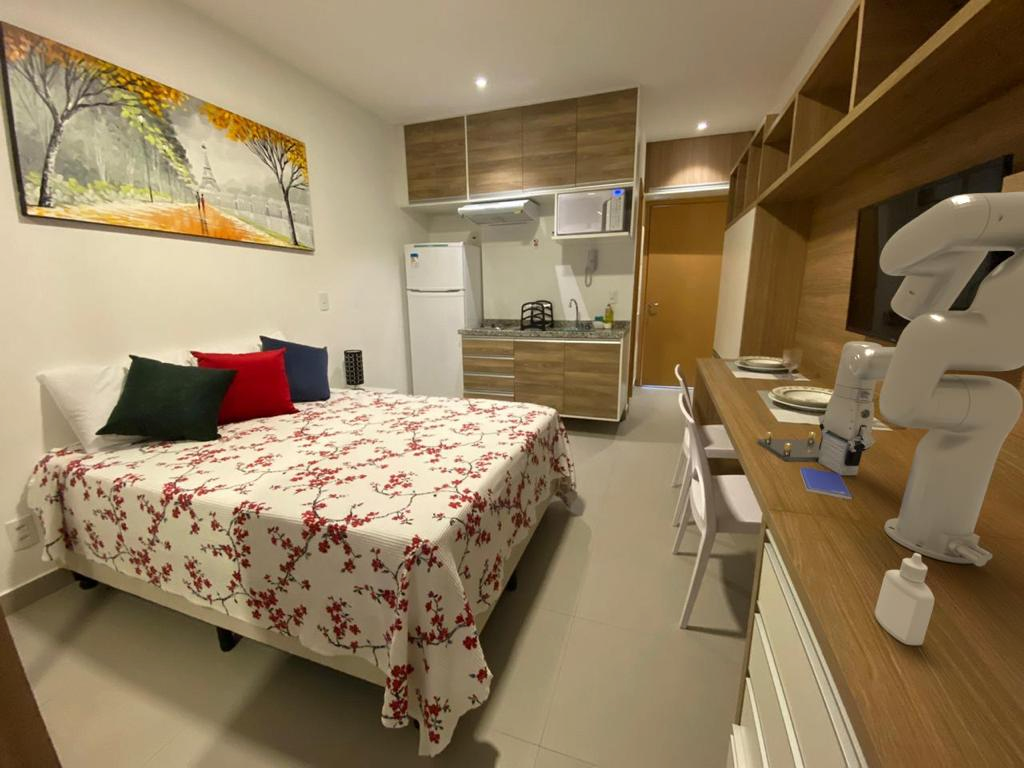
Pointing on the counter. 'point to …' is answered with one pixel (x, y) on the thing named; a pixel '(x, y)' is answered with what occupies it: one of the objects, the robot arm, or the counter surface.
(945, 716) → the counter surface
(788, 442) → the plate
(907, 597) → the eye dropper bottle
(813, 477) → the hard drive
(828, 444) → the medicine box
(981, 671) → the counter surface
